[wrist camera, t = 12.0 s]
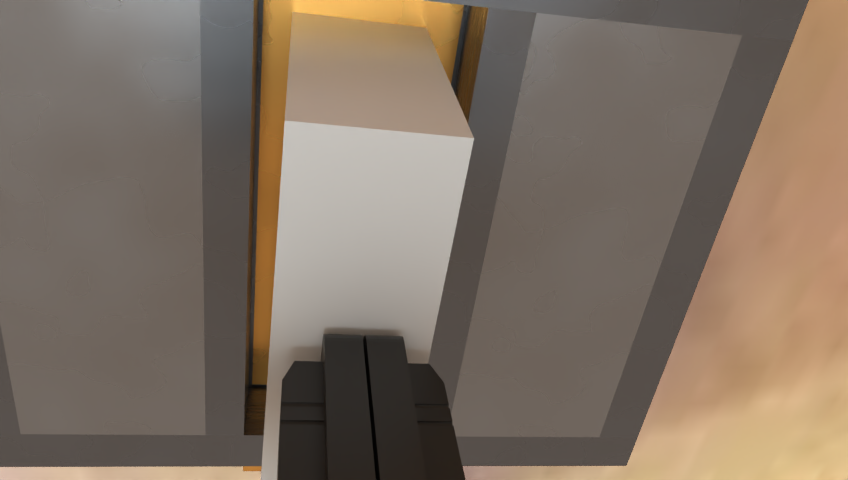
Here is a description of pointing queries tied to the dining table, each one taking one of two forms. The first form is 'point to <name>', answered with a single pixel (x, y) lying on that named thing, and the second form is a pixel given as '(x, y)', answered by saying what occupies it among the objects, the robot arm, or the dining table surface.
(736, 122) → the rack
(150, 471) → the dining table surface
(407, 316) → the white rectangular block
